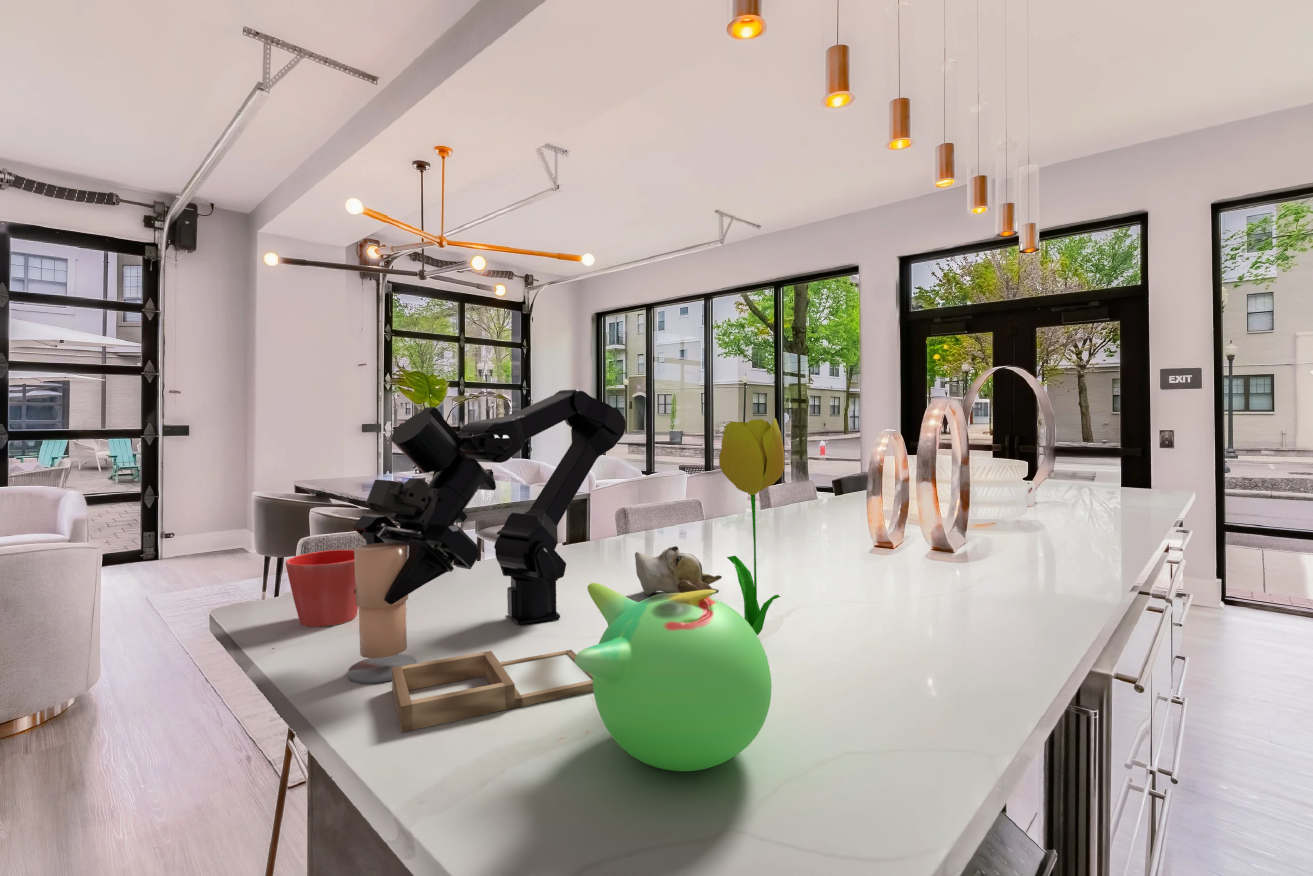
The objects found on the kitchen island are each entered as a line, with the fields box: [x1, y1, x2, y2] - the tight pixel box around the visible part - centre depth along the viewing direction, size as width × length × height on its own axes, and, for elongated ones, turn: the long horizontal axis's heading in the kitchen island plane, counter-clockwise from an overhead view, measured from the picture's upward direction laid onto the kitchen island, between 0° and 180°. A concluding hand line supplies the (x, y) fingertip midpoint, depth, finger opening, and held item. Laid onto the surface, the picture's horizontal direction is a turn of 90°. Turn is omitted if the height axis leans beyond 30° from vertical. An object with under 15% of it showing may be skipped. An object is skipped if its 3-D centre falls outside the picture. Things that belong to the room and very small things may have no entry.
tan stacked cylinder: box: [353, 542, 409, 659], centre depth 76 cm, size 6×6×12 cm
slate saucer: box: [347, 653, 418, 685], centre depth 76 cm, size 8×8×1 cm
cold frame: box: [391, 649, 594, 733], centre depth 71 cm, size 21×11×2 cm, turn 117°
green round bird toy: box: [575, 582, 772, 772], centre depth 57 cm, size 18×17×15 cm
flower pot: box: [285, 549, 359, 628], centre depth 97 cm, size 11×11×10 cm
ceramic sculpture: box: [634, 545, 722, 596], centre depth 109 cm, size 11×9×15 cm
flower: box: [718, 417, 786, 636], centre depth 85 cm, size 9×8×30 cm
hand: (371, 598), depth 75 cm, fingers closed on tan stacked cylinder, 6 cm apart
